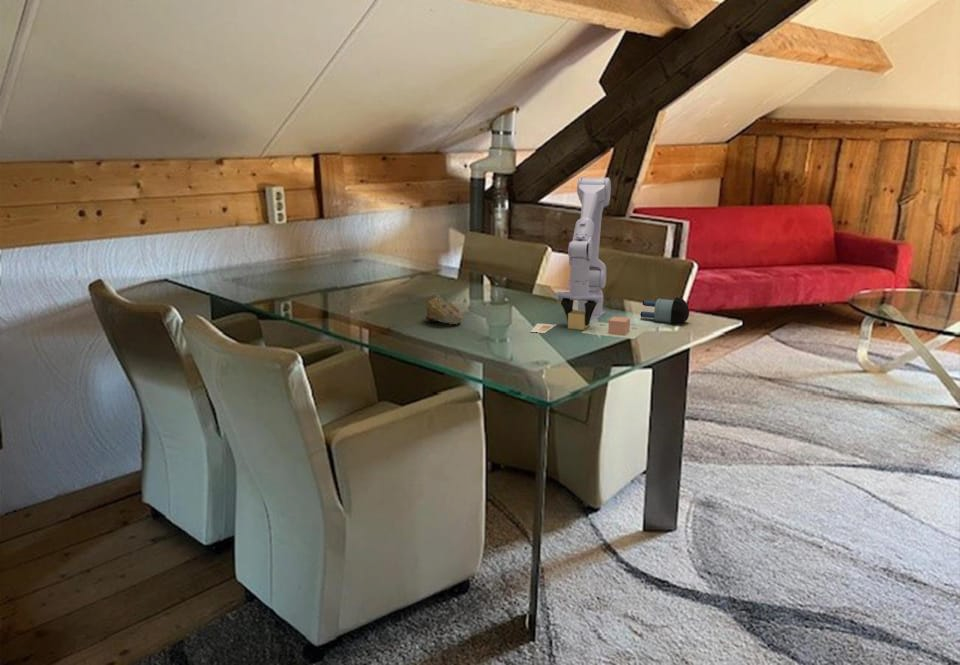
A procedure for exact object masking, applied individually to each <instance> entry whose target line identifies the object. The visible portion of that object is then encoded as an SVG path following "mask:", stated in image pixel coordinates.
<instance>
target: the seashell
mask: <svg viewBox="0 0 960 665" xmlns="http://www.w3.org/2000/svg"><path fill="white" fill-rule="evenodd" d="M434 295H435V297H434V298H432V299H431V300H429V299H428V300H427V301H426V302H427V305H426V306H425V309H426V313H427V314H426V317H425V323H427V322H428V321H434V322H436V321H438V322H439V323H443V324H447V323H449V324H448V325H452V324H456V325H457V324H458V323H460V324H461V322H462V320H463V318H464V317H463V314H462V313H461V311H460V309H459V308H458V307H457V306H456V305H455V304H453V302H452V301H448V302H447V301H446V300H444V299H443V298H442V296H441V295H439V294H438V293H437V294H436V293H435V294H434ZM458 325H459V324H458Z"/></svg>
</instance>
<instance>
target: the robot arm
mask: <svg viewBox="0 0 960 665" xmlns="http://www.w3.org/2000/svg"><path fill="white" fill-rule="evenodd" d="M576 184H577V186H576V192H577V196H578V199H579V202H580V205H581V208H580V210H581V211H580V218H579V219H577V221H576V222H575V225H574V229H573V236H572V241H569V243H568V248H567V250H568V251H567V253H568V265H569V291H556V292H555V300H561V301H560V305H561V307H562V308H563V310H564V314H565V317H566V322H567V323H568V313H570V312H571V311H573V310H574V309H573V307H574V301H577V310H581V311H585V325H589V326H590V323H591V319H594V320H595V319H598V318H600V317H601V316H603V315H604V314H606V311H604V309H603V308H604V292H603V290H602V289H604V288H605V287H606V283H607V266H606V263H604V262H603V261H602V260H601V259H599V255H600V254H599V253H600V244H601V232H602V231H601V230H602V229H601V228H602V216H603V211H604V208H605V207H608V206H609V205H610V201H611V200H610V199H611V192H612V191H611V190H612V183H611V179H610V177H582V176H581V177H579V179H578V180H577V182H576Z"/></svg>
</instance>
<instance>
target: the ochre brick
mask: <svg viewBox="0 0 960 665" xmlns="http://www.w3.org/2000/svg"><path fill="white" fill-rule="evenodd" d="M588 327H590V324H589V325H585V311H581V310H578V309H572V311H571V312H570V313H568V322H567V329H571V330H581V331H582V330H583V331H584V330H586V329H587V328H588Z"/></svg>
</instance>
